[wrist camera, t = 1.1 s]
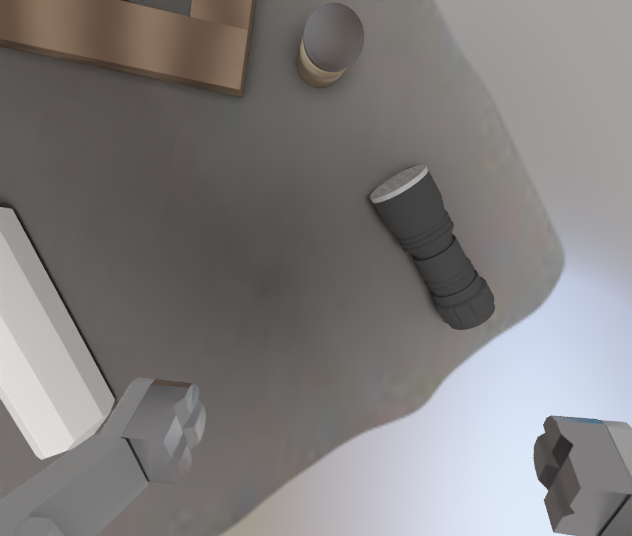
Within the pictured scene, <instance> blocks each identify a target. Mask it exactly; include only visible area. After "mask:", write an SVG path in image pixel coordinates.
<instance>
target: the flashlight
mask: <svg viewBox="0 0 632 536" xmlns="http://www.w3.org/2000/svg"><path fill="white" fill-rule="evenodd" d="M370 199H371V201H372V202H373V204H374V206H375V207H376V209H377V211H378V213H379V214H380V216H381V218H382V219H383V221H384V223H385V225H386V226H387V227H388V228H389V229H390V230H391V231H392V232H393V233H394V234H395V235H396V236H397V240H398V241H399V242H400V245H401V246H402V248H403V250H404V251H405V252H408V253H412V255H413V259H414V261H415V262H416V264H417V266H418V268H419V269H420V271H421V273H422V275H423V276H424V278H425V283H426V284H427V285H428V288H429V290H431V294H432V296H433V298H434V305H435V307H436V309H437V311H438V312H439V314H440V316H441V317H442V319H443V321H444V322H445V323H448V324H449V325H450V326H451V327H452V328H453V329H457V330H466V329H470V328H474V327H476V326H478V325H480V324H482V323H484V322H485V321H486V320H488V319H489V318H490V317H491V315H492V314H493V312H494V309H495V306H494V296H493V294H492V292H491V290H490V288H489V286H488V285H487V283H486V281H485V280H484V279H483V278H482V277H479V275H478V273H477V271H476V270H475V269H474V267H473V265H472V264H471V261H470V260H469V259H468V258H467V257H466V255H465V254H464V252H463V250H462V248H461V246H460V244H459V242H458V241H457V239H456V237H455V236H454V235H452V230H453V226H454V224H453V222H452V221H451V218H450V217H449V216H448V212H447V211H445V209H444V205H443V201H442V196H441V193H440V191H439V189H438V188H437V186H436V184H435V182H434V180H433V178H432V176H431V174H430V173H429V171H428V169H427V167H426V165H424V164H421V165H417V166H414V167H412V168H409V169H407V170H405V171H403V172H401V173H399V174H397V175H395V176H394V177H392V178H391V179H389V180H388V181H386V182H385V183H383V184H382V185H380V186H379V187H378V188H377V189H375V190H374V191H373V192H372V194H371V195H370Z"/></svg>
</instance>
